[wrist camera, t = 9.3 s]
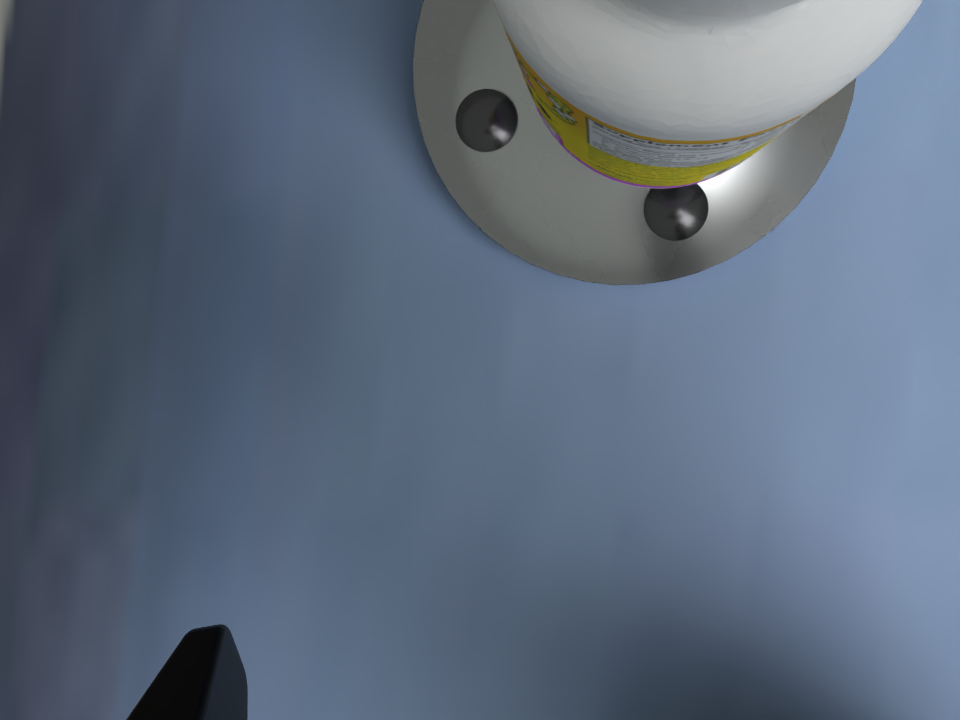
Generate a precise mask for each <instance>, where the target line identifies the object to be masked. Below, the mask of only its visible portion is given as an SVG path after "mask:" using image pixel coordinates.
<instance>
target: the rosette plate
mask: <svg viewBox="0 0 960 720" xmlns="http://www.w3.org/2000/svg"><path fill="white" fill-rule="evenodd" d="M855 81H856V78H855V79H853V80H852V81H851V82H850V83H848V84H847V85H846V86H845V87H843V88H842V89H841V90H840V91H839V92H837V93H836V94H835V95H833V96H832V97H830V98H829V99H828V100H826V101H825V102H823V103H822V104H820V105H819V106H818V107H816V108H815V109H814V110H812V111H811V112H809V113H808V114H806V115H805V116H804V117H802V118H801V119H800V120H798V121H797V122H796V123H794V124H793V125H792V126H791V127H789V128H788V129H787V130H785V131H784V132H783V133H781V134H780V135H779V136H777V137H776V138H775V139H773V140H772V141H771V142H769V143H768V144H767V145H765V146H764V147H763V148H761V149H760V150H759V151H757V152H756V153H755V154H753V155H752V156H751V157H749V158H748V159H746V160H745V161H743V162H742V163H740V164H739V165H737V166H736V167H734V168H732V169H730V170H728V171H726V172H725V173H723V174H721V175H718V176H716V177H713V178H711V179H709V180H706V181H703V182H700V183H696V184H693V185H689V186H683V187H677V188H664V189H657V188H640V187H634V186H628V185H625V184H621V183H618V182H614V181H612V180H609V179H607V178H604V177H602V176H600V175H598V174H596V173H594V172H593V171H591V170H589V169H588V168H586V167H585V166H583V165H582V164H580V163H579V162H578V161H576V160H575V159H574V158H573V157H572V156H571V155H569V154H568V153H567V152H566V151H565V150H564V149H563V148H562V147H561V145H560V144H559V143H558V142H557V141H556V139H555V138H554V137H553V135H552V134H551V132H550V131H549V129H548V128H547V126H546V125H545V123H544V122H543V120H542V118H541V116H540V114H539V112H538V110H537V108H536V106H535V104H534V101H533V99H532V97H531V94H530V92H529V90H528V87H527V84H526V82H525V80H524V77H523V75H522V72H521V70H520V67H519V65H518V63H517V59H516V57H515V54H514V52H513V49H512V47H511V44H510V42H509V40H508V37H507V35H506V32H505V30H504V27H503V25H502V23H501V20H500V18H499V16H498V13H497V11H496V8H495V6H494V3H493V0H424V2H423V4H422V9H421V13H420V17H419V22H418V26H417V30H416V37H415V47H414V57H413V82H414V95H415V102H416V109H417V116H418V120H419V124H420V127H421V131H422V134H423V138H424V142H425V145H426V147H427V150H428V152H429V154H430V157H431V159H432V161H433V164H434V166H435V168H436V171H437V172H438V174H439V176H440V177H441V179H442V181H443V183H444V184H445V186H446V188H447V189H448V191H449V193H450V194H451V196H452V197H453V198H454V199H455V201H456V202H457V203H458V205H459V206H460V207H461V208H462V210H463V211H464V212H465V213H466V215H467V216H468V217H469V218H470V219H471V220H472V221H473V222H474V223H475V224H476V225H477V226H478V227H479V228H480V229H481V230H482V231H483V232H484V233H485V234H486V235H488V236H489V237H490V238H492V239H493V240H494V241H496V242H497V243H498V244H500V245H501V246H502V247H504V248H505V249H506V250H508V251H509V252H511V253H513V254H515V255H516V256H518V257H520V258H522V259H523V260H525V261H527V262H529V263H531V264H532V265H535V266H537V267H540V268H542V269H545V270H547V271H550V272H552V273H555V274H557V275H561V276H565V277H569V278H573V279H577V280H581V281H585V282H593V283H602V284H610V285H634V284H647V283H654V282H661V281H668V280H672V279H676V278H680V277H683V276H687V275H691V274H694V273H698V272H700V271H702V270H705V269H707V268H710V267H712V266H714V265H717V264H719V263H722V262H724V261H726V260H728V259H729V258H731V257H733V256H735V255H736V254H738V253H740V252H741V251H743V250H745V249H747V248H748V247H750V246H752V245H753V244H754V243H756V242H757V241H758V240H759V239H761V238H762V237H763V236H765V235H766V234H767V233H769V232H770V231H771V230H773V229H774V228H775V227H776V226H777V225H778V224H779V223H780V222H781V221H782V220H783V219H784V218H785V217H786V216H787V215H788V214H789V213H790V212H792V211H793V210H794V209H795V208H796V207H797V205H798V204H799V203H800V201H801V200H802V199H803V198H804V196H805V195H806V194H807V193H808V191H809V190H810V189H811V188H812V186H813V185H814V184H815V183H816V181H817V179H818V178H819V176H820V174H821V173H822V171H823V169H824V168H825V166H826V164H827V163H828V161H829V160H830V158H831V156H832V154H833V152H834V149H835V147H836V145H837V143H838V140H839V138H840V136H841V134H842V131H843V129H844V126H845V123H846V119H847V116H848V113H849V109H850V106H851V103H852V99H853V93H854V87H855Z"/></svg>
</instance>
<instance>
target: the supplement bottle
mask: <svg viewBox="0 0 960 720" xmlns="http://www.w3.org/2000/svg"><path fill="white" fill-rule="evenodd" d="M922 1H923V0H493V3H494V6H495V8H496V11H497V13H498V16H499V18H500V20H501V23H502V25H503V27H504V30H505V32H506V35H507V37H508V40H509V42H510V44H511V47H512V49H513V52H514V54H515V57H516V59H517V63H518V65H519V67H520V70H521V72H522V75H523V77H524V80H525V82H526V84H527V87H528V90H529V92H530V94H531V97H532V99H533V101H534V104H535V106H536V108H537V110H538V112H539V114H540V116H541V118H542V120H543V122H544V123H545V125H546V126H547V128H548V129H549V131H550V132H551V134H552V135H553V137H554V138H555V139H556V141H557V142H558V143H559V144H560V145H561V147H562V148H563V149H564V150H565V151H566V152H567V153H568V154H569V155H571V156H572V157H573V158H574V159H575V160H576V161H578V162H579V163H580V164H582V165H583V166H585V167H586V168H588V169H589V170H591V171H593V172H594V173H596V174H598V175H600V176H602V177H604V178H607V179H609V180H612V181H614V182H618V183H621V184H625V185H628V186H634V187H640V188H657V189H664V188H677V187H683V186H689V185H693V184H696V183H700V182H703V181H706V180H709V179H711V178H713V177H716V176H718V175H721V174H723V173H725V172H726V171H728V170H730V169H732V168H734V167H736V166H737V165H739V164H740V163H742V162H743V161H745V160H746V159H748V158H749V157H751V156H752V155H753V154H755V153H756V152H757V151H759V150H760V149H761V148H763V147H764V146H765V145H767V144H768V143H769V142H771V141H772V140H773V139H775V138H776V137H777V136H779V135H780V134H781V133H783V132H784V131H785V130H787V129H788V128H789V127H791V126H792V125H793V124H794V123H796V122H797V121H798V120H800V119H801V118H802V117H804V116H805V115H806V114H808V113H809V112H811V111H812V110H814V109H815V108H816V107H818V106H819V105H820V104H822V103H823V102H825V101H826V100H828V99H829V98H830V97H832V96H833V95H835V94H836V93H837V92H839V91H840V90H841V89H842V88H843V87H845V86H846V85H847V84H848V83H850V82H851V81H852V80H853V79H855V78H856V77H857V76H858V75H859V74H860V73H862V72H863V71H864V70H865V69H866V68H867V67H868V66H869V65H871V64H872V63H873V62H874V61H875V60H876V59H877V58H878V57H879V56H880V55H881V54H882V53H883V52H884V51H885V50H886V49H887V47H888V46H889V45H890V44H891V43H892V42H893V41H894V40H895V38H896V37H897V36H898V35H899V33H900V32H901V31H902V30H903V28H904V27H905V26H906V24H907V23H908V22H909V21H910V19H911V18H912V16H913V15H914V13H915V12H916V10H917V9H918V7H919V5H920V4H921V2H922Z"/></svg>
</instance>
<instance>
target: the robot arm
mask: <svg viewBox="0 0 960 720" xmlns="http://www.w3.org/2000/svg"><path fill="white" fill-rule="evenodd" d="M247 704H248V691H247V679H246V673H245V669H244V666H243V664H242V661H241V658H240V656H239V653H238V650H237V647H236V645H235V642H234V639H233V637H232V634H231V632H230V630H229V628H228V627H227V626H226V625H221V624H219V625H213V626H207V627H202V628H196V629H193V630H191V631H189V632H188V633H187V634H186V635H185V636H184V637H183V639H182V640H181V642H180V643H179V645H178V646H177V647H176V649H175V650H174V652H173V653H172V655H171V656H170V658H169V659H168V660H167V662H166V663H165V665H164V666H163V668H162V669H161V670H160V672H159V673H158V675H157V676H156V678H155V679H154V681H153V682H152V683H151V685H150V686H149V688H148V689H147V691H146V692H145V694H144V695H143V696H142V698H141V699H140V701H139V702H138V704H137V705H136V707H135V708H134V709H133V711H132V712H131V714H130V715H129V717H128V718H127V720H247Z"/></svg>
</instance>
